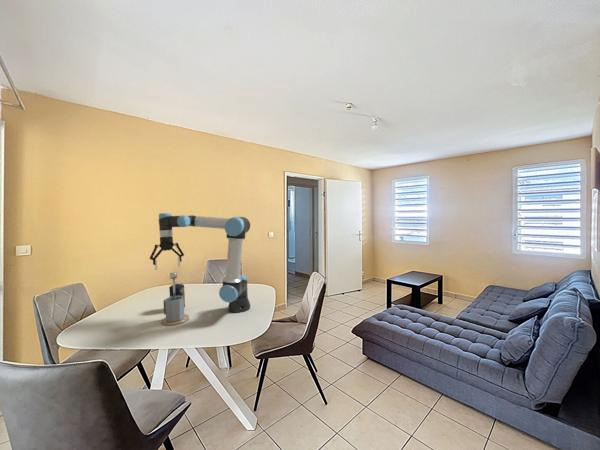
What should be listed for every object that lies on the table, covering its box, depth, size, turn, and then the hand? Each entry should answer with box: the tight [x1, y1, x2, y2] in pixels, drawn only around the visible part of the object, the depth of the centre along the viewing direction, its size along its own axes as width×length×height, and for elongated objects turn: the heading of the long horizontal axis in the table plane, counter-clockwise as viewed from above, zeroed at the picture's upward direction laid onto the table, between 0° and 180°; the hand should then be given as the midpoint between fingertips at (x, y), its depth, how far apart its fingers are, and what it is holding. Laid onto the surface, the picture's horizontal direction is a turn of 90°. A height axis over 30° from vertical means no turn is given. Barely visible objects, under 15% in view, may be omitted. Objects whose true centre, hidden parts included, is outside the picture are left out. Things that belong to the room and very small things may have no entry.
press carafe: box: [160, 296, 190, 327], centre depth 157 cm, size 16×16×14 cm
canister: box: [169, 283, 186, 308], centre depth 176 cm, size 10×10×18 cm
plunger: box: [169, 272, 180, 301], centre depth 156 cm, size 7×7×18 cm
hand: (168, 268), depth 166 cm, fingers open, 13 cm apart
